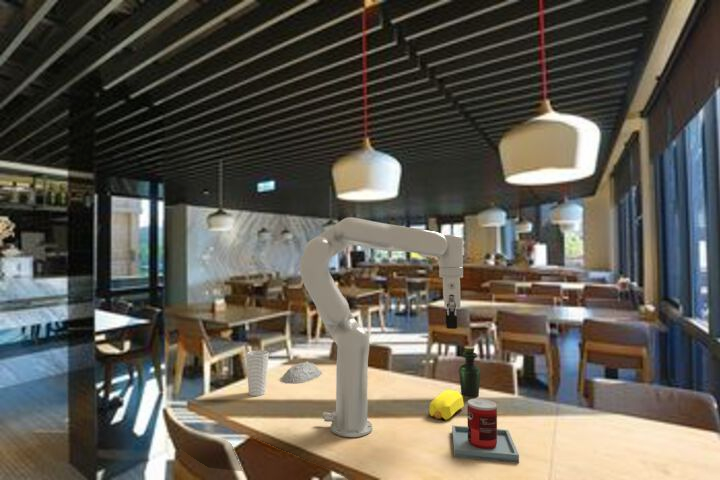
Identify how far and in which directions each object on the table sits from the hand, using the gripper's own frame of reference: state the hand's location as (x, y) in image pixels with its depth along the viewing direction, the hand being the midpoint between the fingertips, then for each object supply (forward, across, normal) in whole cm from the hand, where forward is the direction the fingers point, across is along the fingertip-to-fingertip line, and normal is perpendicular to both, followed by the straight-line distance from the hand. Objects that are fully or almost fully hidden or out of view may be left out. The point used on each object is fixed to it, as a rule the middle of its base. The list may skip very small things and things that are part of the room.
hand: (451, 326), depth 133 cm
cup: (+31, +13, +72) cm, 79 cm away
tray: (+30, -16, -8) cm, 35 cm away
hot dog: (+31, +8, +1) cm, 32 cm away
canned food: (+30, -16, -8) cm, 35 cm away
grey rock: (+31, +40, +63) cm, 81 cm away
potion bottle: (+31, +29, -8) cm, 43 cm away
